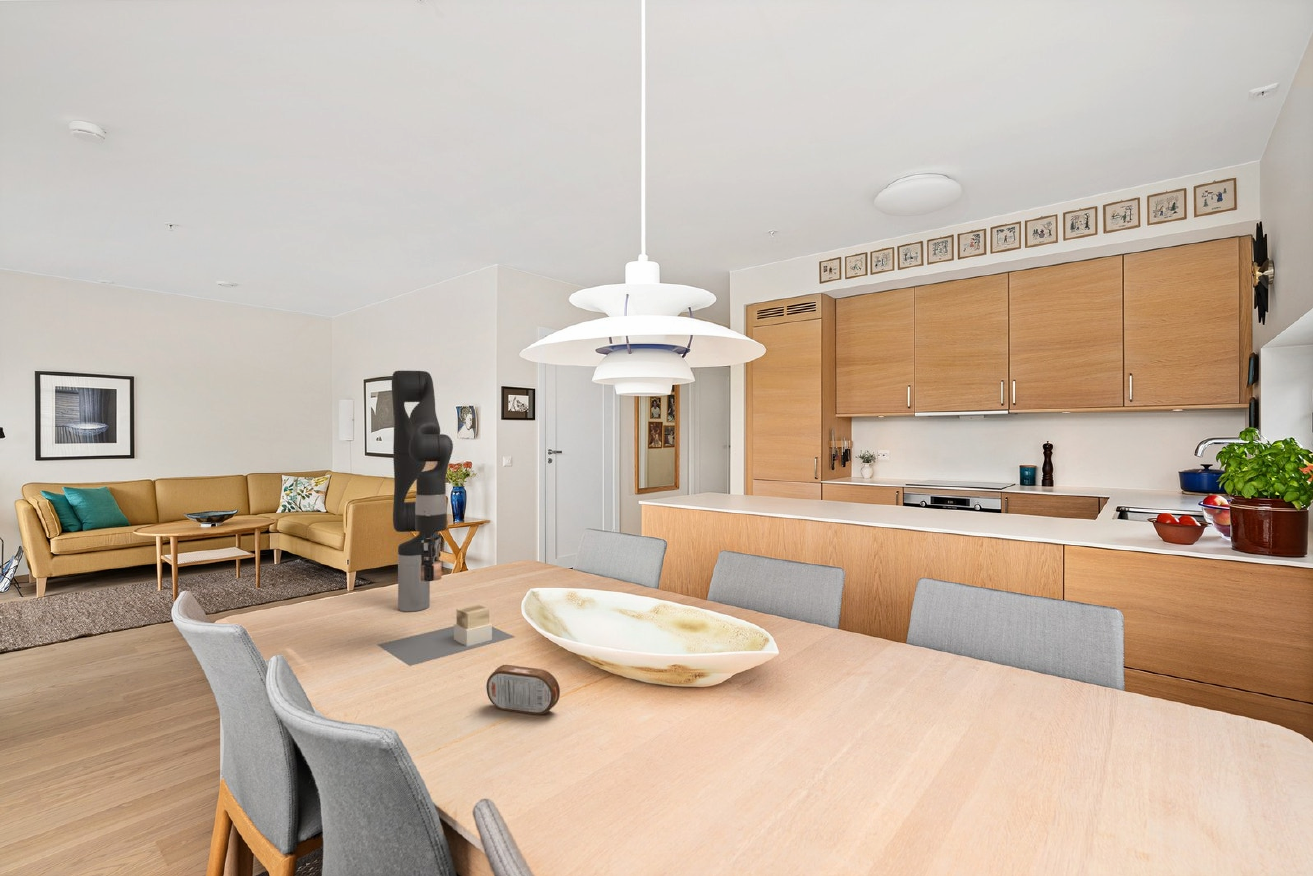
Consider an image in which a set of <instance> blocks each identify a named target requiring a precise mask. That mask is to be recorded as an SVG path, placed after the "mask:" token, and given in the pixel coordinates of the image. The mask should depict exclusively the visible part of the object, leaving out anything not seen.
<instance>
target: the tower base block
mask: <svg viewBox="0 0 1313 876" xmlns="http://www.w3.org/2000/svg"><path fill="white" fill-rule="evenodd" d="M453 626H454V640H455V641H457V642H459V643H461V644H463V645H465V646H470V645H474V644H478V643H481V642H485V641H489V640H492V627H493V624H492V623H491V622H489V624H488V625H484V626H480V627H476V628H472V629H465V628H463V627H461V626H459V625H457V623H454V624H453Z"/></svg>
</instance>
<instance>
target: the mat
mask: <svg viewBox="0 0 1313 876" xmlns="http://www.w3.org/2000/svg"><path fill="white" fill-rule="evenodd" d="M513 638H516V636H515V635H513V634H510V633H508V632H506V631H503V630H501V629H498V628H496V627H494V626H492V640H489V641H485V642H481V643H478V644H474V645H470V646H465V645H463V644H461V643H459V642H457V641H455V640H454V625H453V626H448V627H444V628H441V629H440V628H439V629H436V630H433V631H428V632H424V633H423V632H422V633H419V634H416V635H411V636H407V637H403V638H399V639H394V640H390V641H386V642H381V643H377V644H376V645H377V646H378V647H380V648H381V649H383V650H384V651H386V652H387V653H389V654H390V655H392V656H393V657H395V658H397V659H399V660H400V661H402V662H403V663H404V664H406V665H408V666H409V667H411V666H414V665H419V664H422V663H425V662H430V661H434V660H438V659H441V658H445V657H448V656H452V655H455V654H459V653H462V652H466V651H470V650H473V649H476V648H482V647H484V646H487V645H491V644H496V643H499V642H503V641H506V640H510V639H513Z"/></svg>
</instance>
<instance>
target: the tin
mask: <svg viewBox="0 0 1313 876" xmlns="http://www.w3.org/2000/svg"><path fill="white" fill-rule="evenodd" d="M486 693H487V698H488V699H489V701H490V703H491V704H493V706H495V707H496V708H498V709H500V710H501V711H507V712H514V713H515V712H516V713H522V714H528V715H534V716H535V715H536V716H542V715H545V714H547V713H548V712H549V711H551V710H552V708H554V707H555V706H556V704H558V701H559V699H560V696H561V695H560V694H561V688H560V685H559V683H558V681H557V679H556V678H555V676H554V675H553V674H552V673H551V672H549V671H547V670H545V669H542V668H536V667H527V666H521V665H520V666H519V665H512V664H504V665H500V666H498V667H497V668H495V670H494V671H493V672H492V673H491V674H490V675H489V677H488V678H487V680H486Z"/></svg>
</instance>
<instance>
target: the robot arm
mask: <svg viewBox="0 0 1313 876" xmlns="http://www.w3.org/2000/svg"><path fill="white" fill-rule="evenodd" d="M391 395H392V397H391V398H392V399H391V400H392V411H393V412H392V413H393V444H392V445H393V446H392V447H393V448H392V449H393V453H392V454H393V456H392V457H393V460H392V461H393V476H394V478H393V479H394V480H393V481H394V488H393V504H392V505H393V508H392V523H393V524H392V525H393V528H394V530H395V532H397V533H398V532H399V533H406V532H407V533H409V532H418V534H417V535H416V536H415V537H413V538H412V539H410V540H406V541H404V542H402V543H400V544H398V546H397V547H398V548H397V581H398V582H397V595H398V596H397V601H398V603H397V609H398V611H401V612H417V611H423V610H426V609H428V608H429V607H430V606H431V604H430V603H431V600H430V598H431V597H430V596H431V595H430V594H431V590H430V588H431V583H430V582H434V581H433V580H434V561H438V562H440V558H441V550H442V548H441V544H442V543H441V542H442V534H439V532H443V531H446V529H447V528H448V527H447V526H448V525H447V523H448V521H447V519H448V518H447V517H448V516H447V514H448V513H447V511H448V510H447V509H448V505H447V503H448V502H447V498H446V497H447V494H446V493H447V491H446V489H447V487H446V485H447V484H446V479H447V472H448V467H449V464H450V461H451V457H452V454H453V449H454V443H453V440H452V438H451V437H450V436H449V435H447V434H443V433H441V427H440V423H439V419H438V416H437V411H436V398H435V397H436V396H435V387H434V381H433V378H432V375H431V374H430V373H429V372H428V371H425V370H394V372H393V374H392V377H391ZM405 403H417V404H416V405H415V407H413V409H412V410H411V412H410V415H408V413H407V410H406V406H405ZM427 462H430V463H431V462H433V463H434V462H437V463H436V465H435V467H433V468H432V469H429V470H424V469H425V468H426V465H427ZM414 483H416V490H415V491H416V495H415V496H416V498H415V501H407V502H406V501H405V500H406V498H407V495H408V492H409V491H410V489H411V487H412V485H413V484H414ZM421 564H422V565H423V566H424V580H425V581H421Z"/></svg>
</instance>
